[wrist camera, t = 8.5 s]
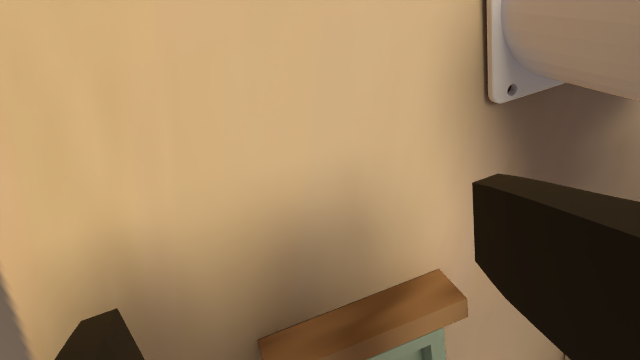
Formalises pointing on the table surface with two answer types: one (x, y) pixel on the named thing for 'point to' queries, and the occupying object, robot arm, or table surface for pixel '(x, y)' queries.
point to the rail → (372, 323)
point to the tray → (418, 349)
